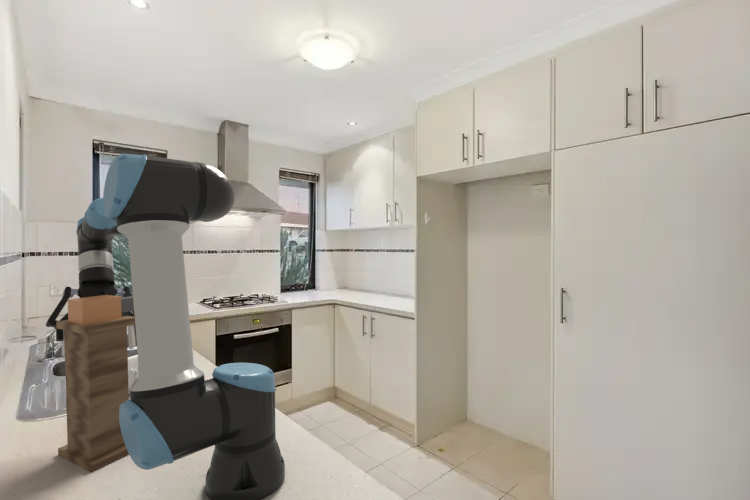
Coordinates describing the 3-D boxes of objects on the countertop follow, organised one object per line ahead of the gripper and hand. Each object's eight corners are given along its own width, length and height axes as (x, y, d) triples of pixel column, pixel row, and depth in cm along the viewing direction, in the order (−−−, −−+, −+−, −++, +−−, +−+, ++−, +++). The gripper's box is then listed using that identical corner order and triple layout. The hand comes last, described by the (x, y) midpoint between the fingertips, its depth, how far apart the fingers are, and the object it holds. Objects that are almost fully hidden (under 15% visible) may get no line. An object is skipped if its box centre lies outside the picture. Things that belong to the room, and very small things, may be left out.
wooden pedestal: (143, 447, 92) (140, 317, 91) (91, 472, 82) (87, 327, 81) (110, 433, 98) (106, 312, 97) (58, 454, 89) (54, 321, 88)
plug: (166, 310, 101) (165, 290, 101) (82, 324, 84) (82, 301, 84) (151, 308, 103) (151, 289, 103) (68, 322, 87) (67, 299, 87)
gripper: (144, 278, 114) (151, 349, 106) (31, 276, 95) (30, 362, 88) (153, 266, 109) (161, 340, 102) (36, 263, 91) (35, 352, 84)
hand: (100, 350), depth 95 cm, fingers open, 13 cm apart
